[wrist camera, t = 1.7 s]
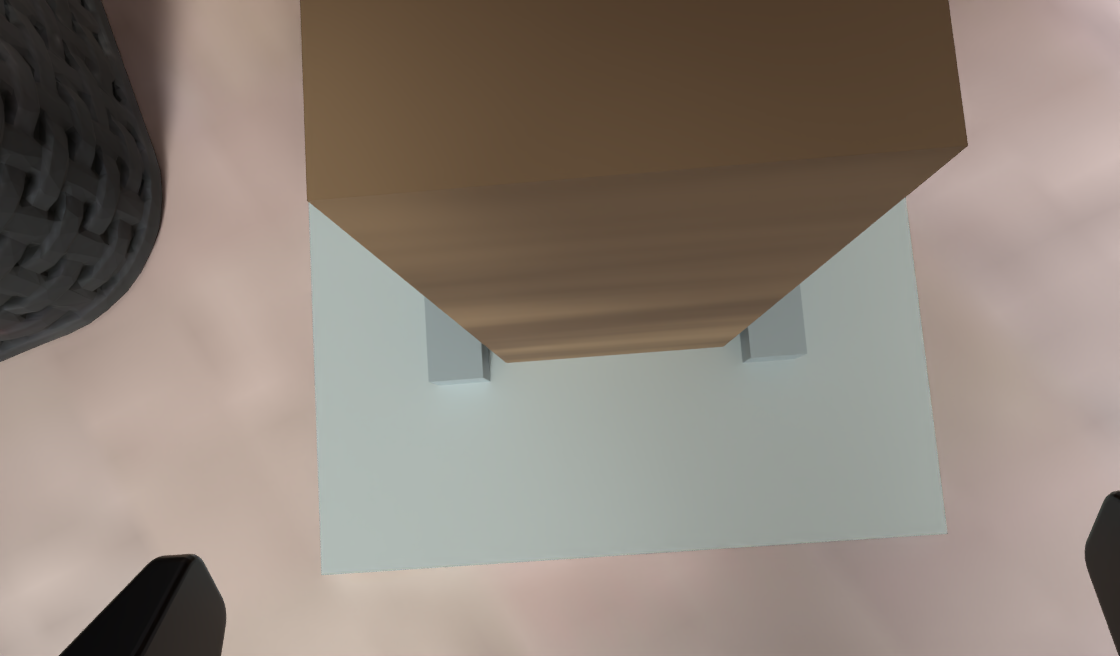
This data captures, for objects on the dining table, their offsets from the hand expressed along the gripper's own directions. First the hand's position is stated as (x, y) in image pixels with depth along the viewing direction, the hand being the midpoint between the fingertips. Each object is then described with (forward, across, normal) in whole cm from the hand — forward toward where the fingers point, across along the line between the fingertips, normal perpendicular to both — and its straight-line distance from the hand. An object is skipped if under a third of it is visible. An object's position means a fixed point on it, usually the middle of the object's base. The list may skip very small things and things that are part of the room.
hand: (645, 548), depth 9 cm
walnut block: (+12, 0, +4) cm, 13 cm away
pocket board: (+12, 0, +5) cm, 13 cm away
